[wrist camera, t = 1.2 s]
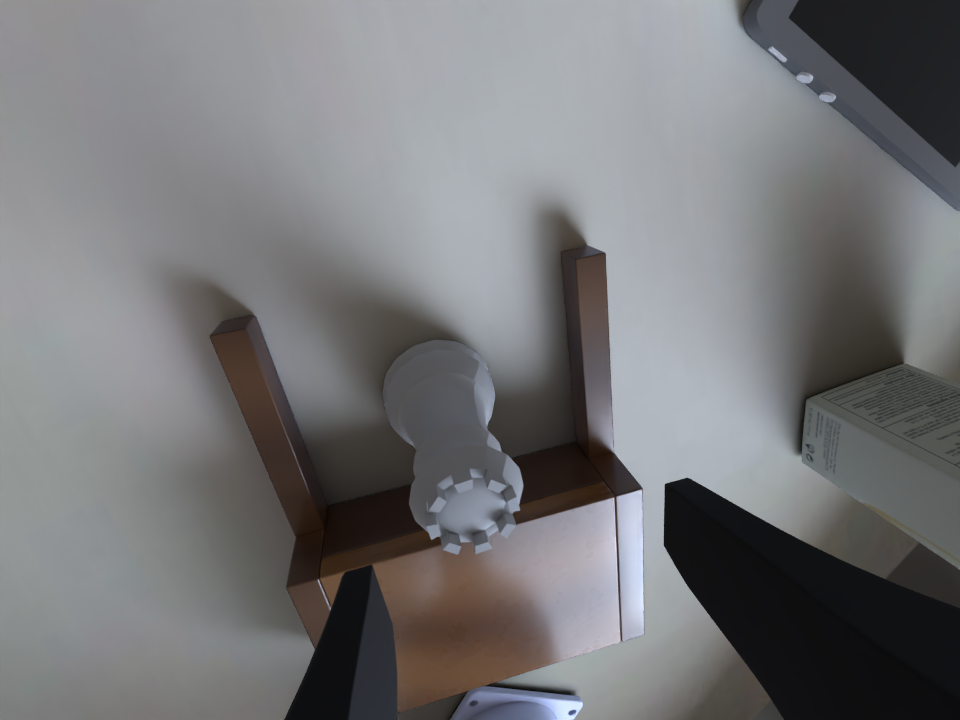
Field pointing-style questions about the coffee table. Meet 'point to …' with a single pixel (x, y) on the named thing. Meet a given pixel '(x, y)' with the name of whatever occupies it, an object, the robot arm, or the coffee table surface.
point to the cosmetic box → (894, 450)
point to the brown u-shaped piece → (468, 576)
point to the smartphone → (878, 72)
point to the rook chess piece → (452, 444)
